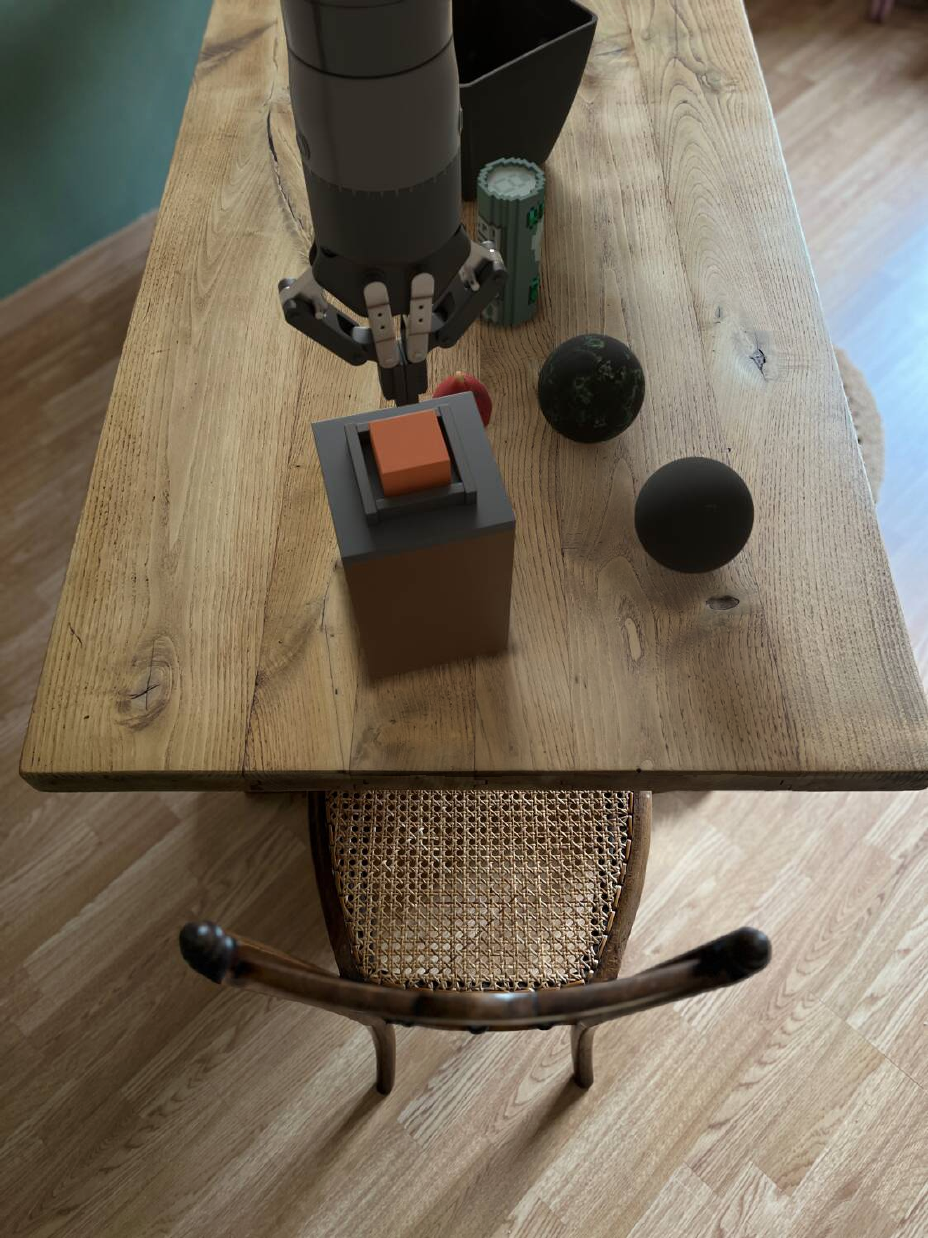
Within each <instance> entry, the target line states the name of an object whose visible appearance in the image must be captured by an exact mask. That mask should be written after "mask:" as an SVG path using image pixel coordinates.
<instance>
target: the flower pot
mask: <svg viewBox="0 0 928 1238" xmlns="http://www.w3.org/2000/svg"><path fill="white" fill-rule="evenodd" d="M598 21H599V15H597V13H595V12H594V11H592V10H591V9H590V8H588V7H586V6H585V5H583V4H581V3H580V2H578V1H577V0H452V27H453V41H454V48H455V55H456V61H457V67H458V75H459V92H460V105H461V109H462V119H463V123H462V129H461V134H460V152H461V201H464V202H467V203H472V202H475V201H477V178H478V177H479V174H480V170H482V169H484V168H485V165H486V164H489V163H491V162H494V161H497V160H499V159H502V158H504V159H505V160H507V159H510V158H512V157H513V158H514V159H518V158H519V159H520V160H524V159H525V160H526V161H527V162H529V163H532V162H534V163H535V164H536V165H537V166H538V167H539V166H541V165H542V164H544V163H546V162H547V160H548V158H549V157H550V155H551V153H552V151H553V149H554V147H555V145H556V143H557V141H558V139H559V136H560V134H561V132H562V130H563V128H564V126H565V123H566V122H567V119H568V116H569V114H570V111H571V109H572V106H573V104H574V101H575V98H576V97H577V94H578V90H579V87H580V85H581V82H582V79H583V76H584V73H585V70H586V66H587V63H588V59H589V57H590V53H591V50H592V46H593V42H594V38H595V35H596V29H597V27H598V26H597V25H598Z"/></svg>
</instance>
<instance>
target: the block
mask: <svg viewBox="0 0 928 1238" xmlns="http://www.w3.org/2000/svg"><path fill="white" fill-rule="evenodd" d="M368 425H369V432H370V438H371V445H372V451H373V455H374V459H375V462H376V466H377V470H378V474H379V477H380V481H381V485H382V489H383V492H384V496H385V499H386V498H391V497H396V496H400V495H405V494H410V493H415V492H420V491H424V490H429V489H434V488H439V487H443V486H448V485H451V473H450V458H449V455H448V452H447V449H446V446H445V443H444V439H443V436H442V433H441V430H440V427H439V424H438V421H437V417H436V414H435V411H434V410H428V411H423V412H419V413H414V414H409V415H404V416H399V417H394V418H389V419H384V420H379V421H374V422H369V424H368Z"/></svg>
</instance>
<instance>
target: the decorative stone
mask: <svg viewBox="0 0 928 1238" xmlns="http://www.w3.org/2000/svg"><path fill="white" fill-rule="evenodd" d="M536 384H537V385H536V397H537V402H538V407H539V410H540V411H541V414H542V416H543V418H544V419H545V421H546V423H547V425H549V427H551V429H552V430H553V431H554V432H556V433H557V434H558V435H560V436H561V437H563V438H565V439H567V440H568V441H572V442H574V443H577V444H578V443H579V444H584V445H593V444H594V445H595V444H601V443H604V442H607V441H610V440H613V439H616V437H619V435H621V434H623V433H624V432H625V431H626V430H627V429H629V428H630V427H631V426H632V424H633V423H634V422H635V420H636V418H637V417H638V415H639V414H640V412H641V410H642V407H643V405H644V401H645V396H646V377H645V373H644V369H643V367H642V364H641V362H640V359H638V357H637V356H636V354H635V353H634V352H633V351H632V349H631V348H630V347H629V346H628V345H627V344H625V343H624V342H623V341H621V340H620V339H617V338H615V337H613V336H611V335H607V334H604V333H595V332H594V333H590V332H589V333H584V334H579V335H576V336H573V337H570V338H569V339H567V340H564V341H563V342H562V343H560V344H559V345H557V346H556V347H555V348H554V349H553V350H552V351H551V352H550V353H549V354H548V356H547V357H546V358H545V360H544V362H543V363H542V366H541V369H540V370H539V373H538V377H537V383H536Z"/></svg>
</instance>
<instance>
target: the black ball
mask: <svg viewBox="0 0 928 1238" xmlns="http://www.w3.org/2000/svg"><path fill="white" fill-rule="evenodd" d="M752 496H753V495H752V494H751V491H750V489H749V487H748V485H747V484H746V482H745V480H744V479H743V478H742V476H741V475H739V473H738V472H737V471H736V470H734V469H733V468H732V467H730V466H729V465H728V464H726V463H724V462H722V461H719V460H717V459H714V458H711V457H705V456H687V457H681V458H677V459H674V460H671V461H669V462H668V463H665V464H664V465H662V466H660V467H659V468H658V469H657V470H655V471H654V472H653V473H652V474H651V475H650V476H649V477H648V478H647V480H646V481H645V482H644V483H643V485H642V487H641V489H640V490H639V492H638V494H637V496H636V497H637V498H636V500H635V505H634V510H633V522H634V529H635V533H636V536H637V539H638V541H639V543H640V546H641V547H642V548H643V550H644V552H645V553H646V554H647V555H648V556H649V557H650V558H651V559H652V560H653V561H654V562H655V563H657V564H658V565H660V566H661V567H663V568H665V569H668V570H669V571H672V572H676V573H678V574H679V573H680V574H685V575H700V574H706V573H710V572H714V571H715V570H718V569H720V568H722V567H724V566H726V565H727V564H729V563H730V562H731V561H733V560H734V559H735V558H736V557H737V556H738V555H739V554H740V553H741V552H742V550H743V549H744V548H745V546H746V544H747V542H748V541H749V539H750V536H751V534H752V531H753V528H754V522H755V505H754V500H753V497H752Z"/></svg>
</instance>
